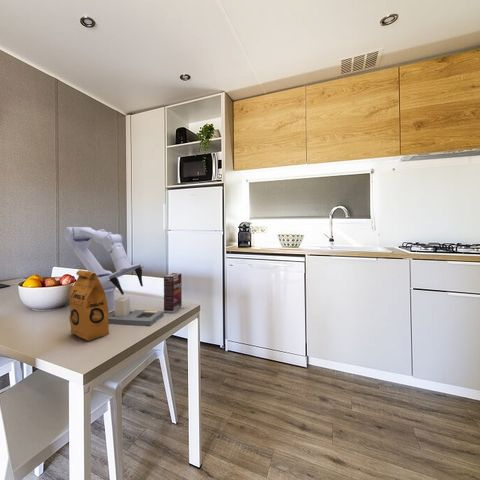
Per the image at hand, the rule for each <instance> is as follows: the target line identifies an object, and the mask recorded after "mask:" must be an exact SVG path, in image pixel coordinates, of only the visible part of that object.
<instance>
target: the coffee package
mask: <svg viewBox="0 0 480 480" xmlns="http://www.w3.org/2000/svg"><path fill="white" fill-rule="evenodd" d="M75 275H76V276H78V277H77V279H76V281H75V282H74V284H73V286H72V287H71V289H70V292H69V313H70V314H69V316H68V319H69V324H70V332H71V334H73V335H75V336H77V337H78V338H81V339H83V340H86V341H88V342H90V341H92V340H94V339H95V340H96V339H99V338H100V337H102V338H103V337H106V336H107V335H109V333H110V330H109V327H110V326H109V325H110V324H109V323H108V318H109V314H110V313H109V311H108V306H107V300H106V294H105V292H104V289H103V287H102V285H101V283H100V281H99V279H98V277H97V275H96V273H93V272H90V271H88V270H83V269H82V270H81V269H79V270H78V271H76V274H75Z"/></svg>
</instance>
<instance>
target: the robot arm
mask: <svg viewBox="0 0 480 480" xmlns="http://www.w3.org/2000/svg"><path fill="white" fill-rule="evenodd" d="M63 235H64V236H63V237H64V240H65V241H66V243H67V244H68V245H69V247H71V248H72V250H73V252H74V254H75V255H76V256H77V258H78V260H80V263H82V264H83V266H84V267H85V269H86V271H90V272H93V273H96V275H97V277H98V279H99V281H100V283H101V285H102V287H103V289H104V292H105V294H106V300H107V306H108V311H109V314H111V313H113V312H115V306H114V300H115V291H116V289H117V290H118V291H119V293H120V294H121V296H124V294H125V293H124V291H123V288H122V286H121V284H120V283H121V282H120V281H119V278H120V277H123V276H125V275H127V274H130V273H133V272H135V274H136V277H137V278H138V282H139V284H140V285H139V286H141V287H144V284H143V269H144V267H145V266H144V264H143V262H139V263H136V264H131V262H130V260H129V258H128V255H127V252H126V251H125V246H124V243H125V241H124V236H123V235H121V234H120V233H116V234H114V233H113V232H111V231H106V229H98V230H95V229H93V228H92V227H89V226H83V227H82V226H67V227H66V228H65V229H64V232H63ZM92 239H93V241H94V242H95V243H97V244H100V245H102V247H103V248H104V249H105V250H106V252H108V253H109V255H110V258H111V261H112V264H113V265H114V269H115V270H116V271H114V272H112V271H111V270H107V269H104V268H103V266H102V265H101V264H100V262H99V261H98V260H97V259H96V257H95V256H94V254H93V253H92V252H91V250H90V249H89V248H88V247H90V245H91V243H92Z"/></svg>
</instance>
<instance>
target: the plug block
mask: <svg viewBox="0 0 480 480" xmlns="http://www.w3.org/2000/svg"><path fill="white" fill-rule="evenodd" d="M130 304H131V299H130V297H119V298H117V299H114V306H115V311H114V312H115V316H116V317H125V316H127V315H129V314H130V310H131V309H130V308H131V305H130Z"/></svg>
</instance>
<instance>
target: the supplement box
mask: <svg viewBox="0 0 480 480" xmlns="http://www.w3.org/2000/svg"><path fill="white" fill-rule="evenodd" d="M182 279H183V278H182V273H180V272H173V273H168V274H167V275H165V276H163V311H164V313H169V314H173V313H175V312H176V311H179V309H181V308H182V307H181V306H183V305H182V304H183V302H182V295H183V294H182V290H183V289H182ZM180 307H181V308H180Z"/></svg>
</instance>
